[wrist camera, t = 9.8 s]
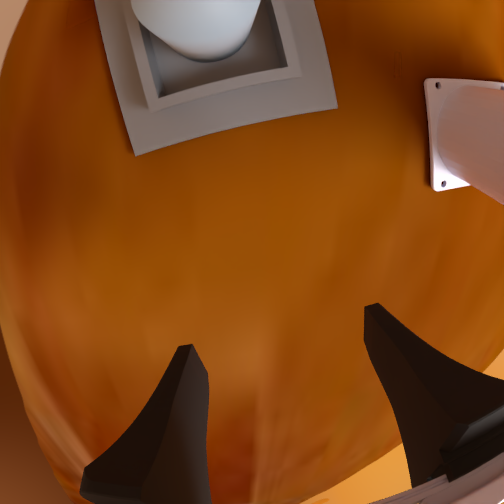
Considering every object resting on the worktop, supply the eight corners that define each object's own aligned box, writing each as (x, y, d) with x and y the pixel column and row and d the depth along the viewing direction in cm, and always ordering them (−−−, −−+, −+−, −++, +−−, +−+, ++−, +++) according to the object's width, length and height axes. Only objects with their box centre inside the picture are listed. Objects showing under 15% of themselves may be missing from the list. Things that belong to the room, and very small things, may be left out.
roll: (245, -13, 12) (254, -70, 6) (255, 56, 14) (272, 31, 8) (163, 0, 12) (127, -47, 6) (173, 70, 14) (137, 54, 8)
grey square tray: (289, -63, 11) (297, -81, 8) (334, 107, 16) (350, 111, 14) (95, -13, 11) (77, -24, 9) (138, 154, 17) (124, 164, 15)
